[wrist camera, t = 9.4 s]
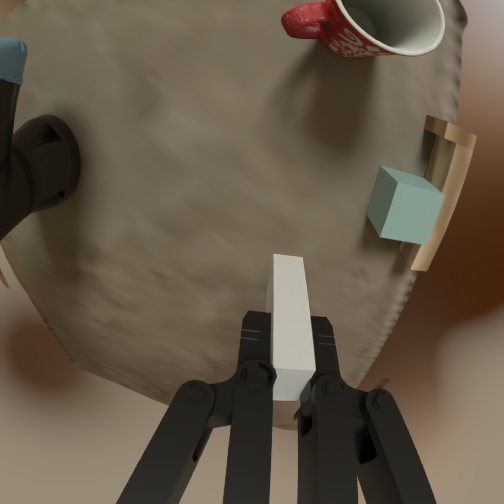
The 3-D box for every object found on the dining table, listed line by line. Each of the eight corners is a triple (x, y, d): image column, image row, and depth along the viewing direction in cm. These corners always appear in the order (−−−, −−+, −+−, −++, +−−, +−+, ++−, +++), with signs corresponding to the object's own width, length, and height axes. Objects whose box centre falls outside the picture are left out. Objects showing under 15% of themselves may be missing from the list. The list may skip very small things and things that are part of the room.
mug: (371, -4, 18) (422, -39, 7) (393, 61, 23) (458, 58, 12) (267, 8, 21) (262, -39, 10) (291, 75, 26) (304, 67, 14)
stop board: (387, 246, 37) (398, 267, 33) (427, 114, 26) (447, 121, 21) (413, 251, 37) (426, 271, 33) (455, 127, 25) (476, 136, 21)
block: (366, 213, 35) (379, 237, 30) (379, 165, 31) (398, 182, 26) (408, 222, 34) (425, 245, 30) (423, 177, 31) (445, 195, 26)
